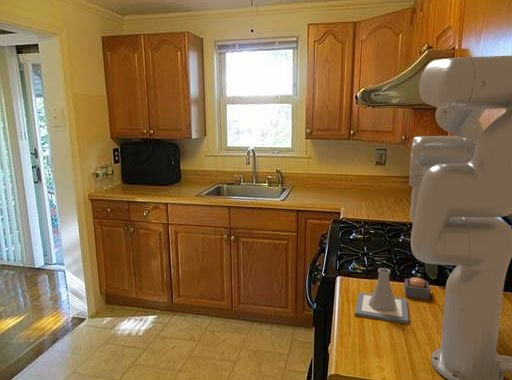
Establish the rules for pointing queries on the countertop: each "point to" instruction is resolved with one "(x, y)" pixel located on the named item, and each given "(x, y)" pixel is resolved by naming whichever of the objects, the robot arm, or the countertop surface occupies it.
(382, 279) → the flask
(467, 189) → the robot arm
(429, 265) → the vegetable
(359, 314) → the board
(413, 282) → the button
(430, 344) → the countertop surface
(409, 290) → the button housing
